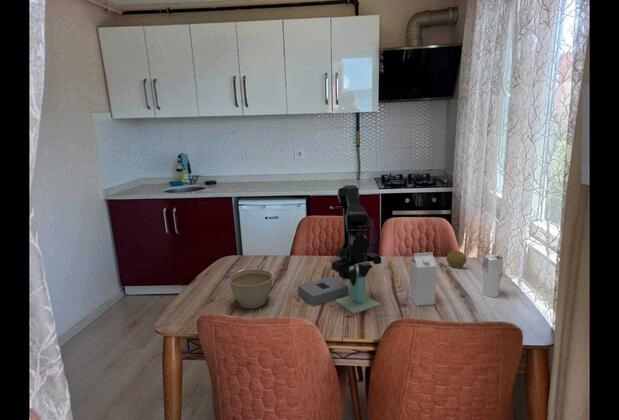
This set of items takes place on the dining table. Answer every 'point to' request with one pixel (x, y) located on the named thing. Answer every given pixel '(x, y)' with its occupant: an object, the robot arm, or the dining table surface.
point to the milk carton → (423, 279)
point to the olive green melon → (456, 258)
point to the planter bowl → (251, 287)
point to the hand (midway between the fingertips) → (357, 284)
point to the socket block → (323, 291)
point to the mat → (357, 304)
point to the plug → (358, 289)
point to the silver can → (492, 274)
